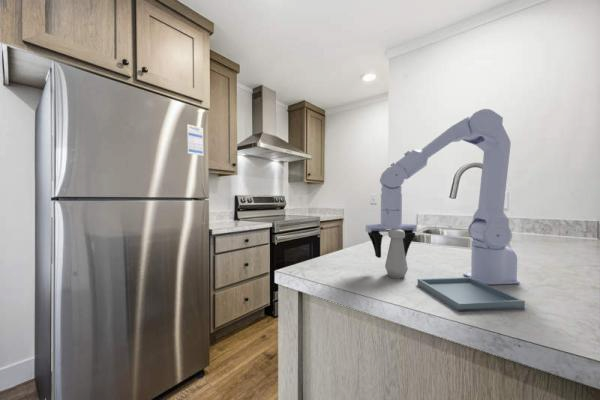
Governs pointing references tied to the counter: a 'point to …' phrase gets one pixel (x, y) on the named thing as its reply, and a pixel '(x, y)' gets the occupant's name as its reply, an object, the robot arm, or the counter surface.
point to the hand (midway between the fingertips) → (390, 256)
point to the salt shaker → (396, 255)
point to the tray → (470, 294)
